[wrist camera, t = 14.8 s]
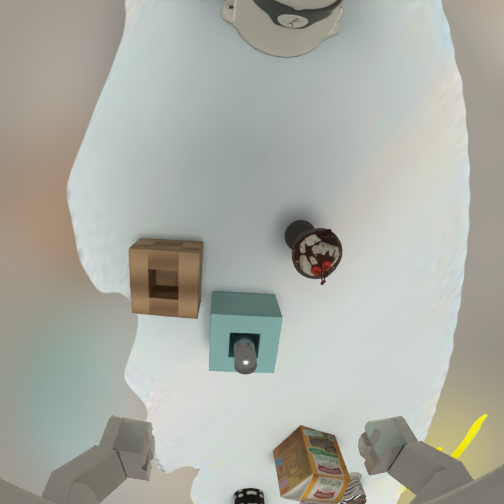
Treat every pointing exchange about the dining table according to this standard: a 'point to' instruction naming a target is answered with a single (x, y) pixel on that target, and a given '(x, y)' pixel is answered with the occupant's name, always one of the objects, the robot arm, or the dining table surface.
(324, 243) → the sundae
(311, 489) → the milk carton
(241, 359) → the peg
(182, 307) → the socket
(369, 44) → the dining table surface
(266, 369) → the teal storage box
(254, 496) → the spotted tube
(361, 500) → the french press
